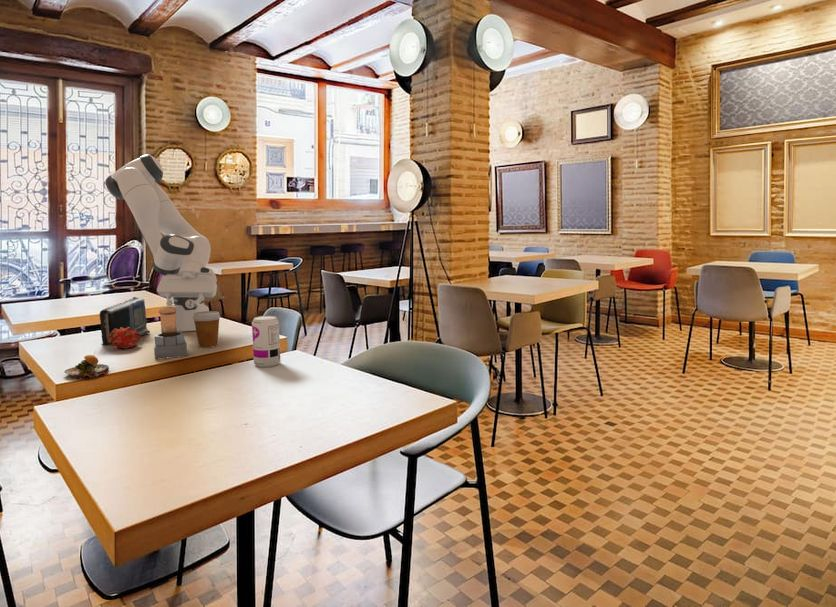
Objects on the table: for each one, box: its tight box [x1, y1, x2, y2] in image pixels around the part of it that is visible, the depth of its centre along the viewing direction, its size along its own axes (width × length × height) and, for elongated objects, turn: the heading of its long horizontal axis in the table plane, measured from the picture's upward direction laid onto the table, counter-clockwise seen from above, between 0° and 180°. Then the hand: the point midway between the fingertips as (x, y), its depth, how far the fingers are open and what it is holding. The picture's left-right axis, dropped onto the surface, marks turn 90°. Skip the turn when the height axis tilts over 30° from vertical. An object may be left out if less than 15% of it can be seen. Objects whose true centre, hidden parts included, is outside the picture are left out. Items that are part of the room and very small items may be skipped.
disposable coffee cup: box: [192, 310, 221, 348], centre depth 213 cm, size 10×10×12 cm
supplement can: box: [251, 315, 281, 368], centre depth 187 cm, size 8×8×15 cm
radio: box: [99, 296, 151, 347], centre depth 225 cm, size 23×9×15 cm, turn 164°
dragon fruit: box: [108, 327, 142, 350], centre depth 211 cm, size 8×8×12 cm
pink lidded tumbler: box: [158, 306, 178, 337], centre depth 200 cm, size 5×5×12 cm
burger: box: [64, 349, 110, 380], centre depth 177 cm, size 12×12×8 cm
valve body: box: [153, 331, 189, 360], centre depth 203 cm, size 16×10×7 cm, turn 25°
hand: (182, 305), depth 208 cm, fingers open, 8 cm apart
